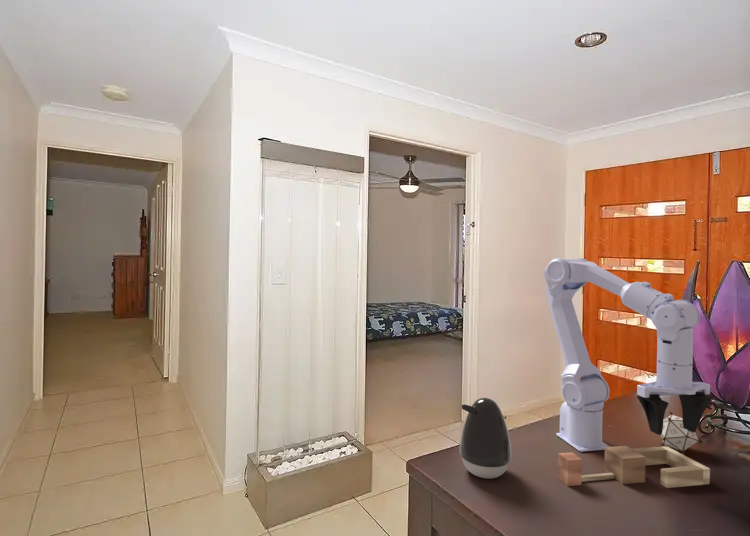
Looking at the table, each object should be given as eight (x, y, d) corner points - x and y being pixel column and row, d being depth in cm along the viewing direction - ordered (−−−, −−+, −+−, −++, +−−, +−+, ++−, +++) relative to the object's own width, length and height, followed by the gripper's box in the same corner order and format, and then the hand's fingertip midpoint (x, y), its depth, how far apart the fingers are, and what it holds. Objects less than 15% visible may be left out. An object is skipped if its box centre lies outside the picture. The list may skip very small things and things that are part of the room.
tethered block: (555, 475, 86) (555, 451, 86) (626, 469, 88) (626, 445, 88) (570, 488, 81) (571, 462, 81) (645, 482, 83) (645, 456, 83)
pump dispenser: (450, 463, 90) (450, 392, 90) (493, 458, 93) (494, 388, 93) (473, 488, 81) (474, 409, 80) (521, 481, 83) (522, 404, 83)
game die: (668, 461, 100) (656, 418, 105) (711, 459, 95) (696, 413, 100) (656, 452, 95) (644, 407, 101) (701, 449, 90) (686, 402, 95)
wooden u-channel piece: (627, 463, 91) (627, 449, 91) (666, 459, 93) (666, 446, 93) (666, 488, 81) (667, 472, 81) (709, 484, 83) (709, 468, 83)
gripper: (658, 369, 78) (656, 442, 78) (725, 366, 80) (724, 437, 81) (629, 359, 85) (628, 427, 85) (692, 357, 87) (690, 423, 88)
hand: (672, 431), depth 83 cm, fingers open, 7 cm apart
